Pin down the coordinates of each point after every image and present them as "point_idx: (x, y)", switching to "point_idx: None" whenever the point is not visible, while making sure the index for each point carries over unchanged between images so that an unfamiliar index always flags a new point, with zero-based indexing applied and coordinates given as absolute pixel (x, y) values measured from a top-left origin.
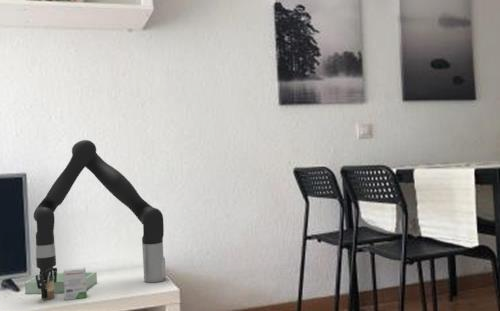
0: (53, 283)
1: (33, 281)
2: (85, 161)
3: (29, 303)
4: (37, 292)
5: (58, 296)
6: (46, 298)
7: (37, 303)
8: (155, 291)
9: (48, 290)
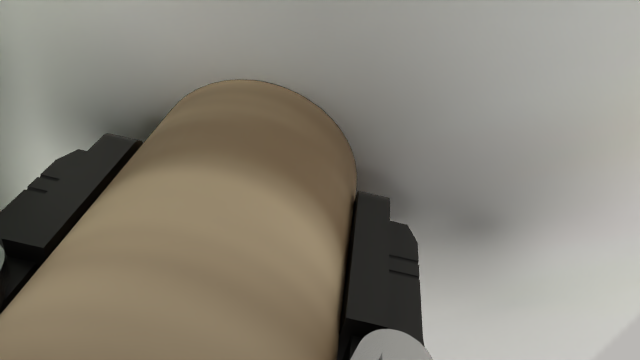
0: (121, 286)
1: None
2: None
3: (459, 338)
4: None
5: (163, 18)
6: (353, 192)
7: (515, 260)
8: None
9: (334, 261)
